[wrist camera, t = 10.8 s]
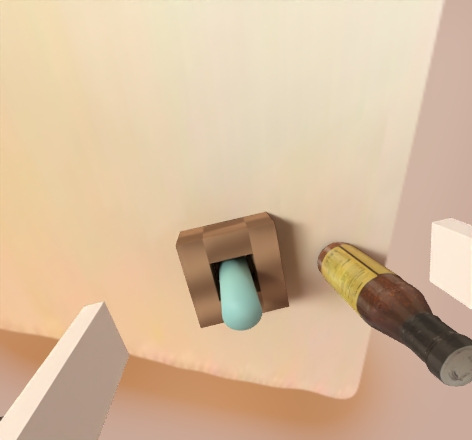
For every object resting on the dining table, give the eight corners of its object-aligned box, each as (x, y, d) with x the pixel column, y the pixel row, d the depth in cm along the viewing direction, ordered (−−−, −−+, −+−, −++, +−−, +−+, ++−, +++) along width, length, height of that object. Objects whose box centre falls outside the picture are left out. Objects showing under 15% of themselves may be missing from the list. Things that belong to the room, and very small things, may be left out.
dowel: (215, 251, 36) (218, 301, 25) (242, 244, 37) (258, 291, 25) (221, 276, 38) (227, 334, 26) (248, 269, 38) (265, 325, 26)
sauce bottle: (318, 282, 40) (418, 410, 21) (313, 245, 38) (418, 349, 19) (359, 271, 40) (495, 389, 21) (356, 234, 38) (503, 327, 19)
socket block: (180, 231, 35) (175, 245, 30) (265, 211, 35) (274, 222, 31) (202, 305, 39) (200, 328, 34) (279, 286, 39) (289, 306, 34)
